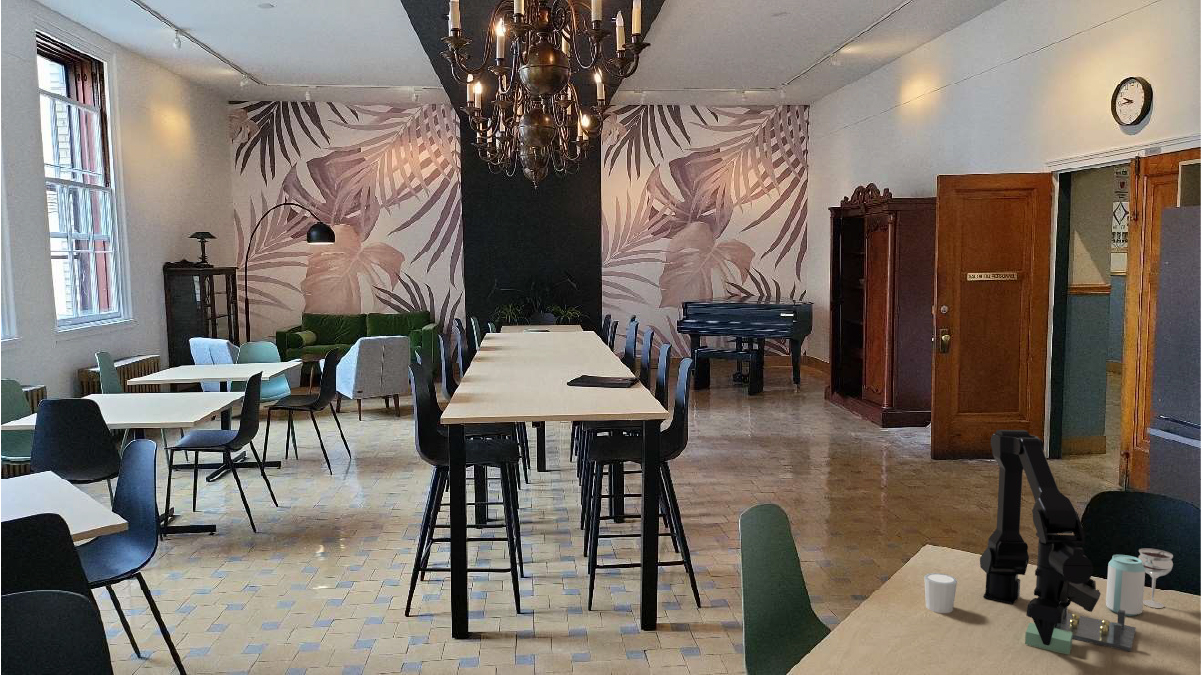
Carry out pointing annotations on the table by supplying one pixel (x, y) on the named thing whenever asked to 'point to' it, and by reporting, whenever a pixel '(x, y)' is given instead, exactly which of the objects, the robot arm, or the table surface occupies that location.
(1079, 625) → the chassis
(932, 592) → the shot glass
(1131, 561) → the can
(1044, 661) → the table surface
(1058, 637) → the green rectangular block
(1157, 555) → the wineglass
